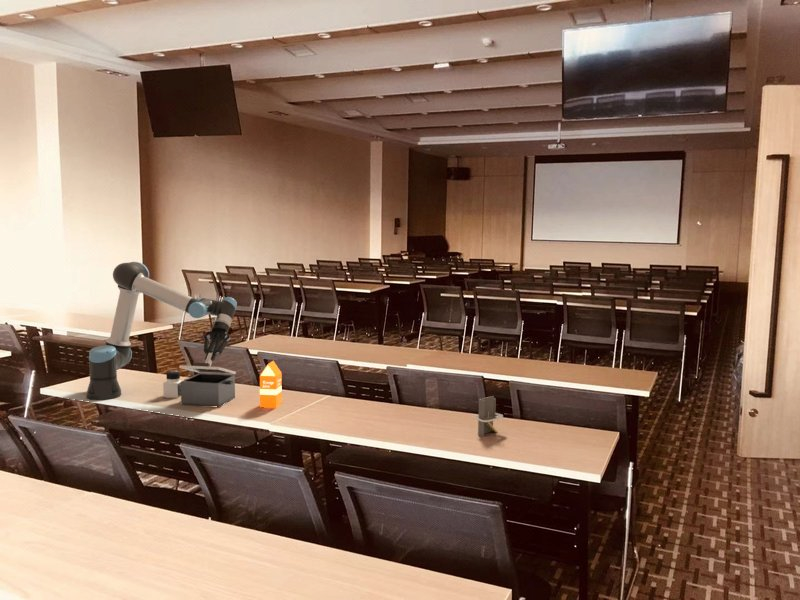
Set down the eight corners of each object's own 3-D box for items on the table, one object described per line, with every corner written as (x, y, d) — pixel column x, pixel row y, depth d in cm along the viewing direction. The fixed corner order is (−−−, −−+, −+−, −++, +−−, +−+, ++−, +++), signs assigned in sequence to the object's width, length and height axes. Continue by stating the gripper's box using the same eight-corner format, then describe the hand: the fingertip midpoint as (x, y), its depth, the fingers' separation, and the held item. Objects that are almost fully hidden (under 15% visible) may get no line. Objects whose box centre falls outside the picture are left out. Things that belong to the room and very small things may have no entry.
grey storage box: (194, 395, 306) (194, 373, 305) (239, 398, 303) (239, 375, 302) (176, 405, 289) (175, 381, 288) (223, 407, 285) (223, 383, 284)
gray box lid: (199, 372, 306) (200, 366, 307) (236, 374, 303) (237, 368, 304) (179, 367, 287) (180, 361, 287) (219, 369, 284) (219, 363, 284)
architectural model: (528, 434, 253) (529, 398, 252) (486, 447, 236) (487, 408, 235) (490, 423, 268) (491, 389, 266) (448, 434, 251) (449, 398, 250)
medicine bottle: (178, 398, 302) (177, 373, 301) (163, 397, 302) (162, 372, 301) (183, 394, 309) (183, 370, 308) (169, 394, 309) (168, 369, 308)
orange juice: (282, 403, 294) (281, 360, 293) (276, 408, 286) (276, 364, 284) (265, 402, 295) (265, 360, 293) (259, 407, 286) (259, 363, 285)
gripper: (237, 330, 309) (223, 371, 295) (211, 329, 311) (196, 370, 297) (232, 321, 304) (218, 362, 289) (206, 320, 306) (190, 361, 291)
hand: (207, 366), depth 293 cm, fingers closed
